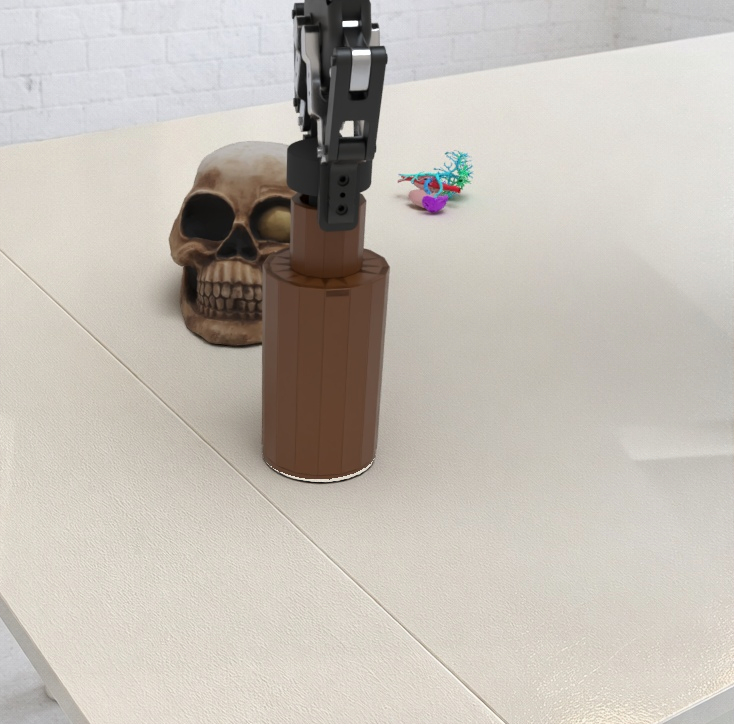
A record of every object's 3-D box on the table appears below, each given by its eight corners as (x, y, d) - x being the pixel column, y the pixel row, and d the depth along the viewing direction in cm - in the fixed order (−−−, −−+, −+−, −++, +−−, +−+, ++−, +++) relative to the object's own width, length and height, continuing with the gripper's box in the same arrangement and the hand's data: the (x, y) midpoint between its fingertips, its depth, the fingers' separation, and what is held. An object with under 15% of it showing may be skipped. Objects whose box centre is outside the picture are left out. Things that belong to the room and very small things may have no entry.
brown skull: (215, 352, 86) (209, 173, 80) (133, 296, 100) (123, 139, 94) (389, 321, 92) (396, 151, 86) (289, 272, 106) (289, 123, 100)
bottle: (362, 422, 77) (378, 175, 68) (386, 479, 71) (407, 217, 62) (255, 429, 77) (256, 181, 67) (270, 487, 71) (273, 223, 61)
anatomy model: (382, 161, 112) (446, 163, 108) (416, 143, 117) (478, 143, 114) (384, 213, 114) (447, 217, 111) (418, 192, 120) (478, 195, 116)
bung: (359, 202, 67) (363, 134, 65) (377, 230, 63) (381, 159, 61) (280, 206, 67) (281, 138, 65) (292, 234, 63) (294, 163, 61)
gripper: (456, -114, 50) (423, 254, 59) (384, -138, 62) (366, 172, 71) (288, -110, 49) (282, 262, 59) (248, -135, 61) (248, 178, 71)
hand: (328, 211), depth 65 cm, fingers closed on bung, 4 cm apart
